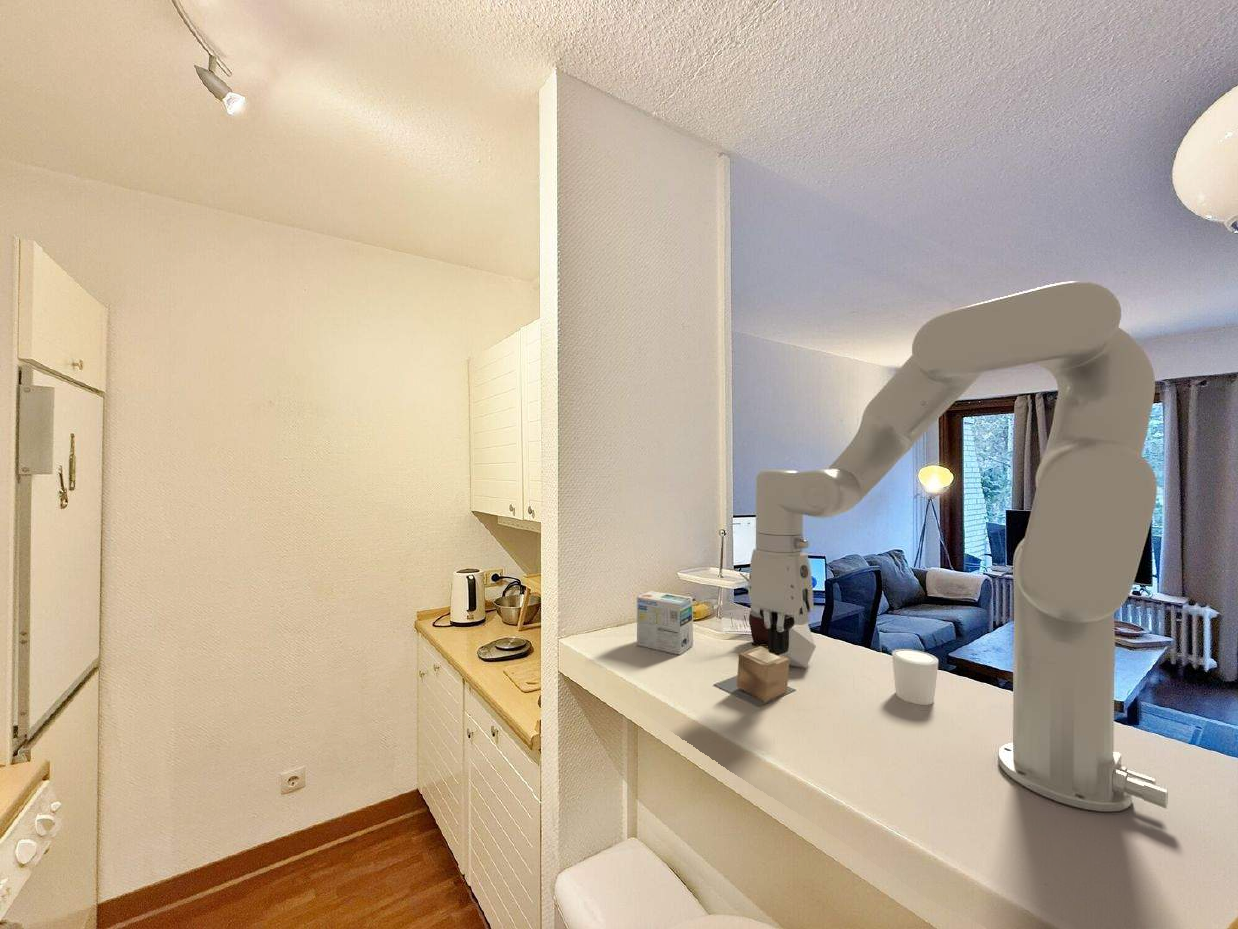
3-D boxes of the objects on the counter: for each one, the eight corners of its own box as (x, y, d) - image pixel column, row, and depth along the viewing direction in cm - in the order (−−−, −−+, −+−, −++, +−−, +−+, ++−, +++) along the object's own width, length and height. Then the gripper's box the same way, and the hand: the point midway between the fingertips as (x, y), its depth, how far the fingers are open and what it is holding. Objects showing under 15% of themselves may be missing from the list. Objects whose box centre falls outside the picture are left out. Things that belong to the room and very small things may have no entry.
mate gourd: (788, 648, 108) (789, 578, 108) (755, 651, 106) (755, 580, 106) (770, 636, 115) (770, 570, 115) (738, 639, 113) (738, 572, 113)
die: (819, 662, 102) (793, 615, 107) (832, 655, 94) (803, 605, 99) (781, 679, 101) (757, 631, 106) (791, 674, 94) (764, 622, 98)
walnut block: (760, 645, 92) (758, 678, 92) (739, 653, 88) (736, 687, 88) (789, 658, 87) (786, 692, 87) (768, 667, 83) (765, 703, 84)
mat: (795, 690, 88) (795, 689, 88) (759, 707, 82) (759, 706, 82) (749, 671, 96) (749, 670, 96) (713, 685, 90) (713, 684, 90)
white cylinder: (943, 709, 82) (943, 666, 81) (895, 703, 84) (895, 660, 84) (932, 691, 88) (932, 651, 88) (888, 685, 90) (888, 646, 90)
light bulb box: (694, 646, 110) (694, 596, 109) (680, 656, 104) (680, 603, 104) (650, 636, 115) (650, 589, 115) (635, 646, 109) (635, 596, 109)
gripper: (832, 547, 81) (832, 661, 82) (756, 536, 93) (756, 635, 93) (805, 552, 77) (805, 673, 77) (729, 539, 89) (729, 644, 89)
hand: (778, 652), depth 85 cm, fingers closed
